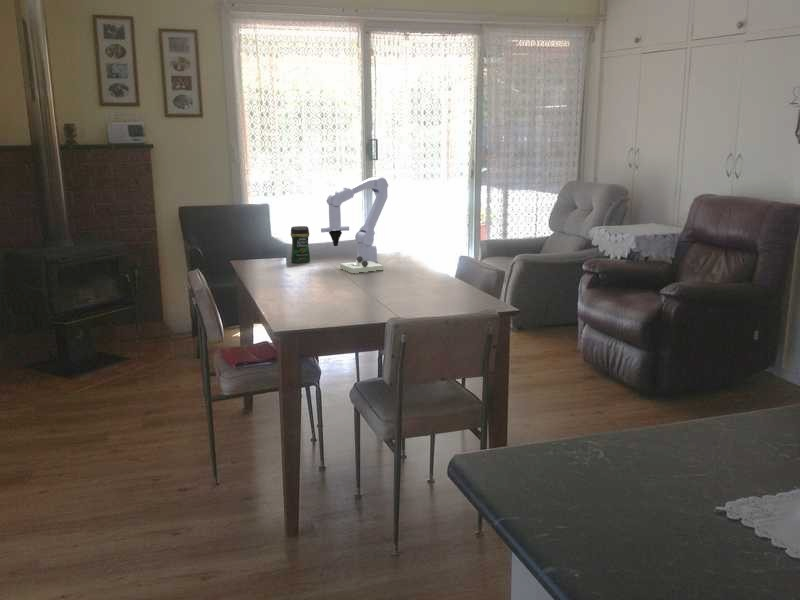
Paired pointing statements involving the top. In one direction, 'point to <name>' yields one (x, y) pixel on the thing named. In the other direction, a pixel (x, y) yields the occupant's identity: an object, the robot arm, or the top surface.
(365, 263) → the black rubber ball
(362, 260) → the black rubber ball
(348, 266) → the sage board
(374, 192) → the robot arm
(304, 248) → the coffee jar
